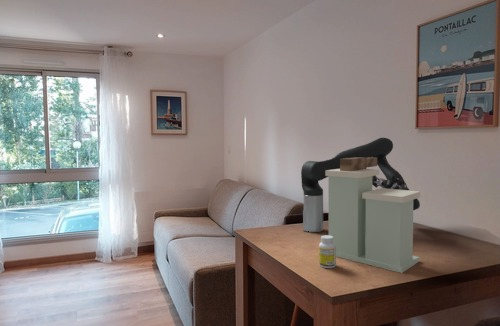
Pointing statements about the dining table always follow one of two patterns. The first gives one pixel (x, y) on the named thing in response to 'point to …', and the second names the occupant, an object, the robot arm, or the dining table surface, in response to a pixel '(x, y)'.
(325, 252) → the supplement bottle
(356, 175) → the step stand
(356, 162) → the walnut leg
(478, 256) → the dining table surface
